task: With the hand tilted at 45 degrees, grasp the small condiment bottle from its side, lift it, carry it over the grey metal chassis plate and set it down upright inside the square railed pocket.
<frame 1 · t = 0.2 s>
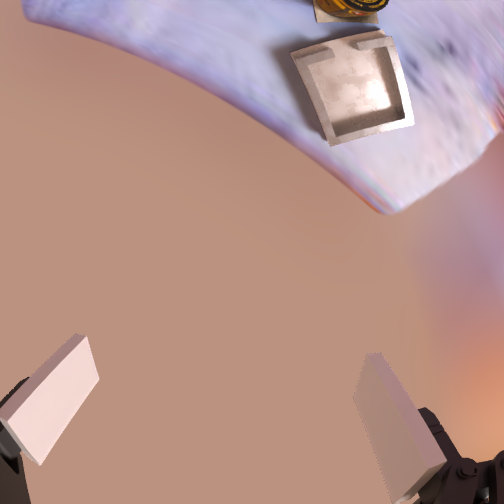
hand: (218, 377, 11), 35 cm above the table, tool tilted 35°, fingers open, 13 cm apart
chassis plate: (354, 85, 31), on the table
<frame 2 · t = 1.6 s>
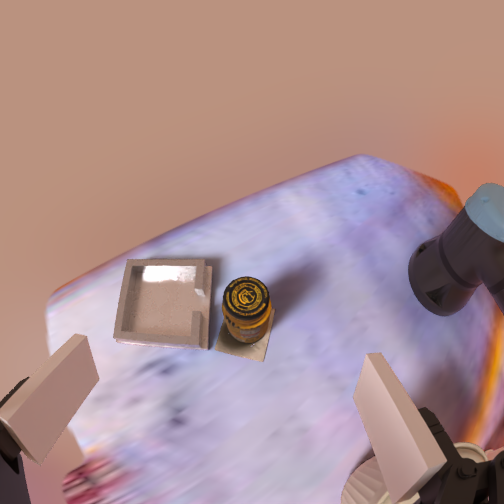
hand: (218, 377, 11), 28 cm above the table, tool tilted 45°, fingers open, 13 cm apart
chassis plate: (164, 306, 42), on the table
jar: (482, 468, 22), on the table
condiment: (245, 330, 40), on the table
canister: (377, 485, 26), on the table
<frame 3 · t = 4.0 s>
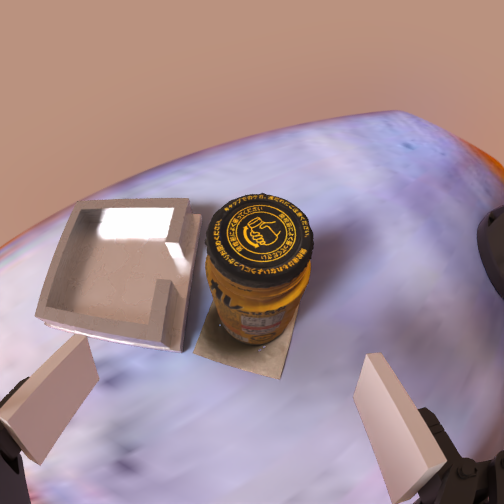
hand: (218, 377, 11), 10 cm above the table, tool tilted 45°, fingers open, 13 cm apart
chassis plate: (120, 274, 25), on the table
condiment: (250, 321, 23), on the table
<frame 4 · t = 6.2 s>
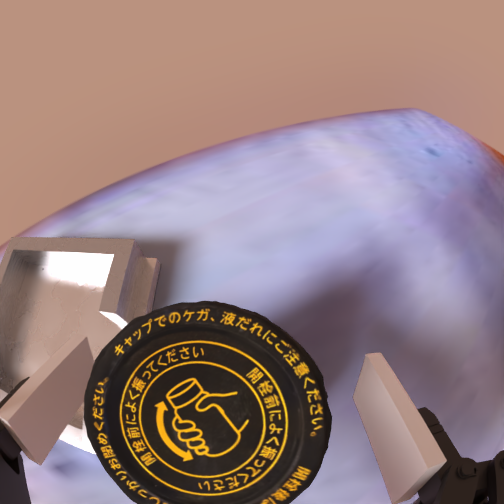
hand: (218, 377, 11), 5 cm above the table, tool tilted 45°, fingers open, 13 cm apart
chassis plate: (60, 338, 16), on the table
condiment: (226, 419, 14), on the table
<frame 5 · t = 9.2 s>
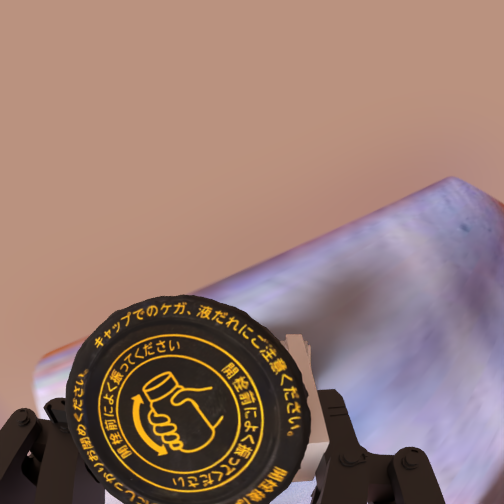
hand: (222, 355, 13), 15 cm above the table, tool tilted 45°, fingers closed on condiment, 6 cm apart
condiment: (220, 419, 14), point 11 cm above the table, touching gripper
when the fingers open (6 cm above the table, at t = 11.5 s): condiment drops 1 cm, resting on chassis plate.
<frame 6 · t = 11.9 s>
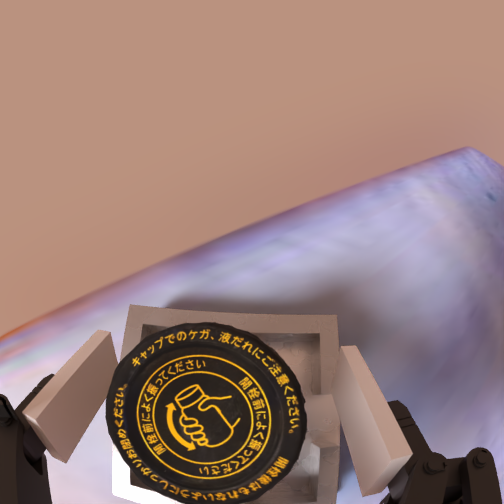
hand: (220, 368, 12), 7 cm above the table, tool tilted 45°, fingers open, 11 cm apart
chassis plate: (228, 417, 16), on the table
condiment: (224, 418, 15), point 1 cm above the table, touching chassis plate
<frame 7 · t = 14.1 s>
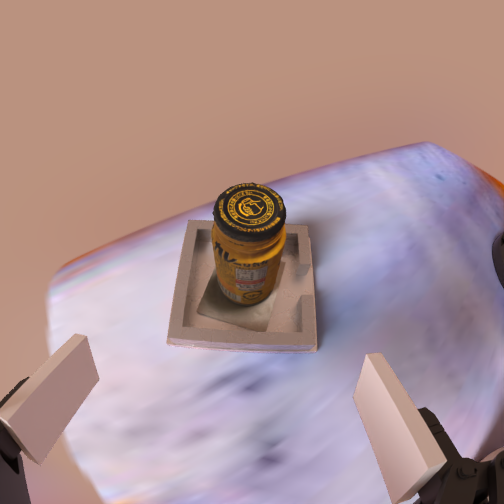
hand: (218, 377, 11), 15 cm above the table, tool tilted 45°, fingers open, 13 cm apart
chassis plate: (244, 290, 30), on the table
condiment: (242, 288, 29), point 1 cm above the table, touching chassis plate
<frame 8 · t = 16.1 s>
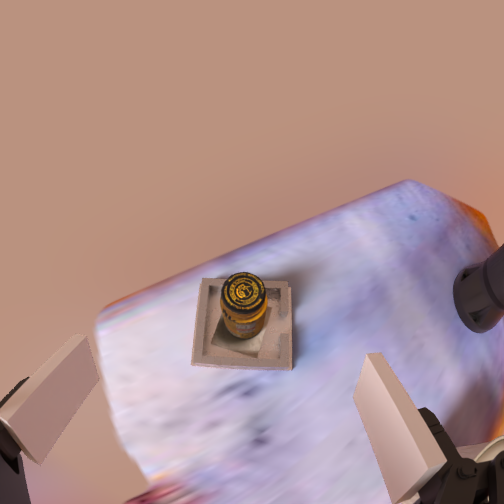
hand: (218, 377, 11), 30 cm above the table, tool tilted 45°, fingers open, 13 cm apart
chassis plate: (243, 327, 42), on the table
condiment: (242, 326, 41), point 1 cm above the table, touching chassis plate
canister: (426, 481, 25), on the table
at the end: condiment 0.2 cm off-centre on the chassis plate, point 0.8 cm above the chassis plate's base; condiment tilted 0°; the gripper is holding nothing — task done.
